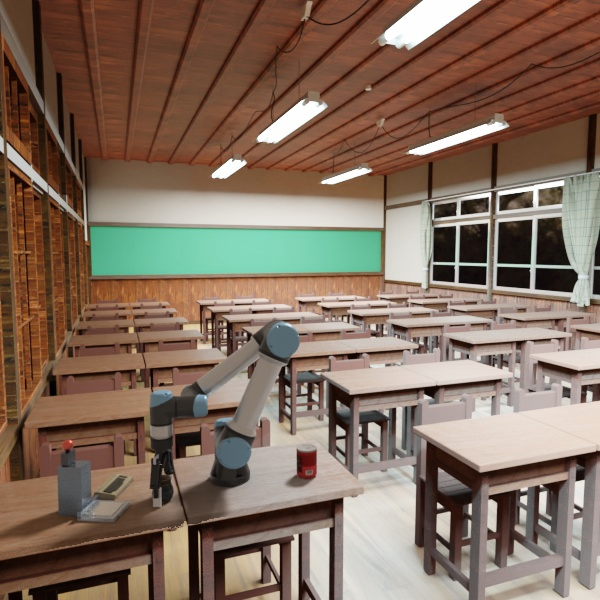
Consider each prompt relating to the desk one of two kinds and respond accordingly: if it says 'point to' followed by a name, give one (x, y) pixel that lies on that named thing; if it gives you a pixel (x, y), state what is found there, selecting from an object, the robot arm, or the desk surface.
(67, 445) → the lever
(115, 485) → the computer
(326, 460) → the desk surface
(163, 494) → the mate gourd
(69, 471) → the press
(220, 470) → the robot arm
